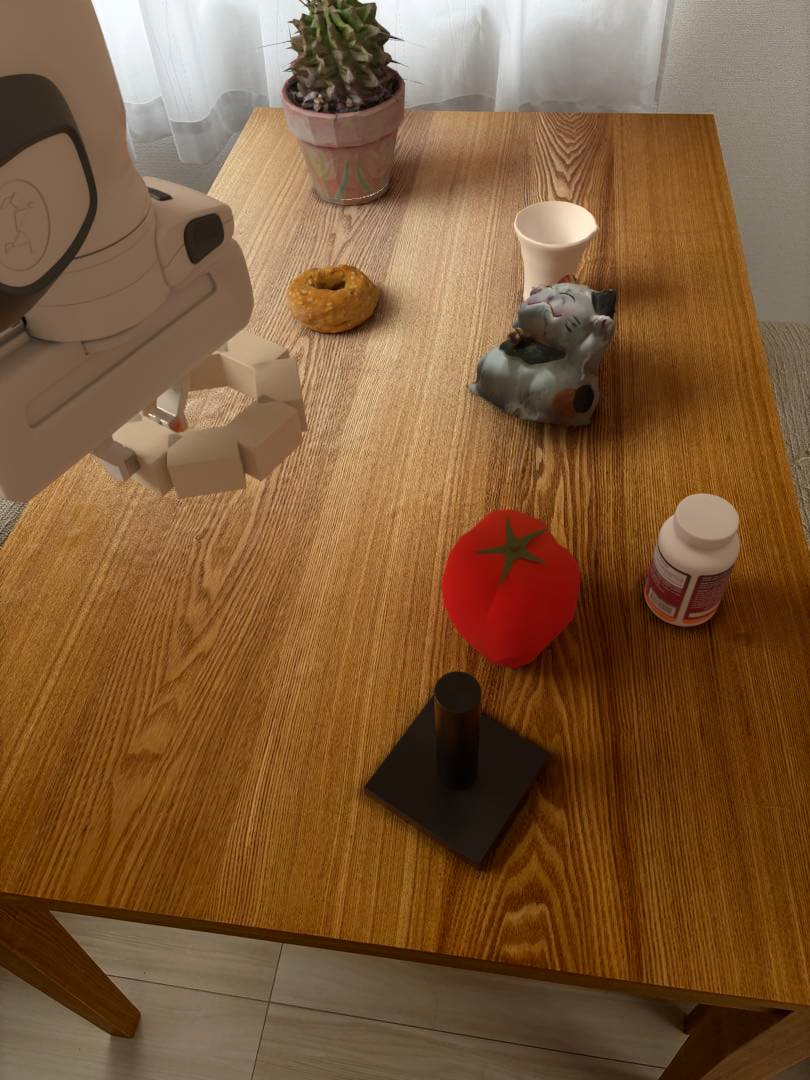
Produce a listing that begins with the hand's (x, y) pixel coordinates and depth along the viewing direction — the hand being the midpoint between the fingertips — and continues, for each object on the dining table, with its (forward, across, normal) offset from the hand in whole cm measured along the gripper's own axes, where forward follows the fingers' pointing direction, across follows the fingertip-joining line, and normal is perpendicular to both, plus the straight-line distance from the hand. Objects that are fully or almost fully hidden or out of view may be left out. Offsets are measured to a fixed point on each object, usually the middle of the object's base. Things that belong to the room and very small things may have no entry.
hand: (149, 451), depth 56 cm
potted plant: (+22, +65, +32) cm, 76 cm away
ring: (+2, +5, 0) cm, 5 cm away
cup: (+22, +56, -1) cm, 60 cm away
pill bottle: (+22, +25, -31) cm, 45 cm away
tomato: (+22, +15, -20) cm, 33 cm away
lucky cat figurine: (+22, +41, -8) cm, 47 cm away
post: (+22, +1, -24) cm, 32 cm away
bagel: (+22, +41, +19) cm, 51 cm away
